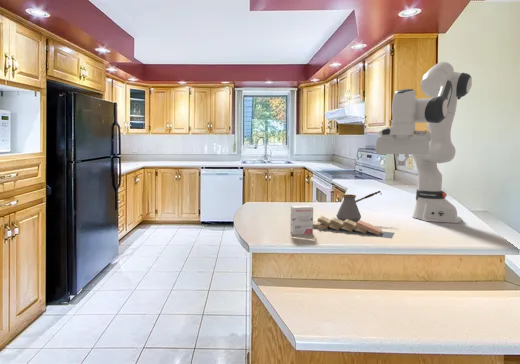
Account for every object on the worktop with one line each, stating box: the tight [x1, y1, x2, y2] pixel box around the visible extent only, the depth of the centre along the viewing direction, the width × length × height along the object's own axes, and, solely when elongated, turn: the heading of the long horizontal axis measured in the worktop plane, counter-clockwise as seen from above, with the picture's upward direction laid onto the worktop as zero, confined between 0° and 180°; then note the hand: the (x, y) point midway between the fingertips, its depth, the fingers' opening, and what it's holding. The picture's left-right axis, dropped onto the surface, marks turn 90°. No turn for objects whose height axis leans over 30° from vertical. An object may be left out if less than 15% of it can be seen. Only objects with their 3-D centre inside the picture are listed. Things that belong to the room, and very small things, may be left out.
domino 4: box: [343, 219, 368, 234], centre depth 164 cm, size 2×5×10 cm
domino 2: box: [316, 215, 341, 231], centre depth 169 cm, size 2×5×10 cm
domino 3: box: [330, 217, 354, 232], centre depth 167 cm, size 2×5×10 cm
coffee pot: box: [336, 190, 383, 223], centre depth 184 cm, size 21×12×15 cm, turn 94°
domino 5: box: [356, 219, 383, 235], centre depth 162 cm, size 2×5×10 cm
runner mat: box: [313, 227, 395, 239], centre depth 165 cm, size 34×10×1 cm, turn 64°
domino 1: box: [313, 221, 330, 229], centre depth 172 cm, size 2×5×10 cm
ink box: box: [289, 205, 314, 236], centre depth 161 cm, size 9×5×12 cm, turn 101°
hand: (401, 165), depth 155 cm, fingers closed
